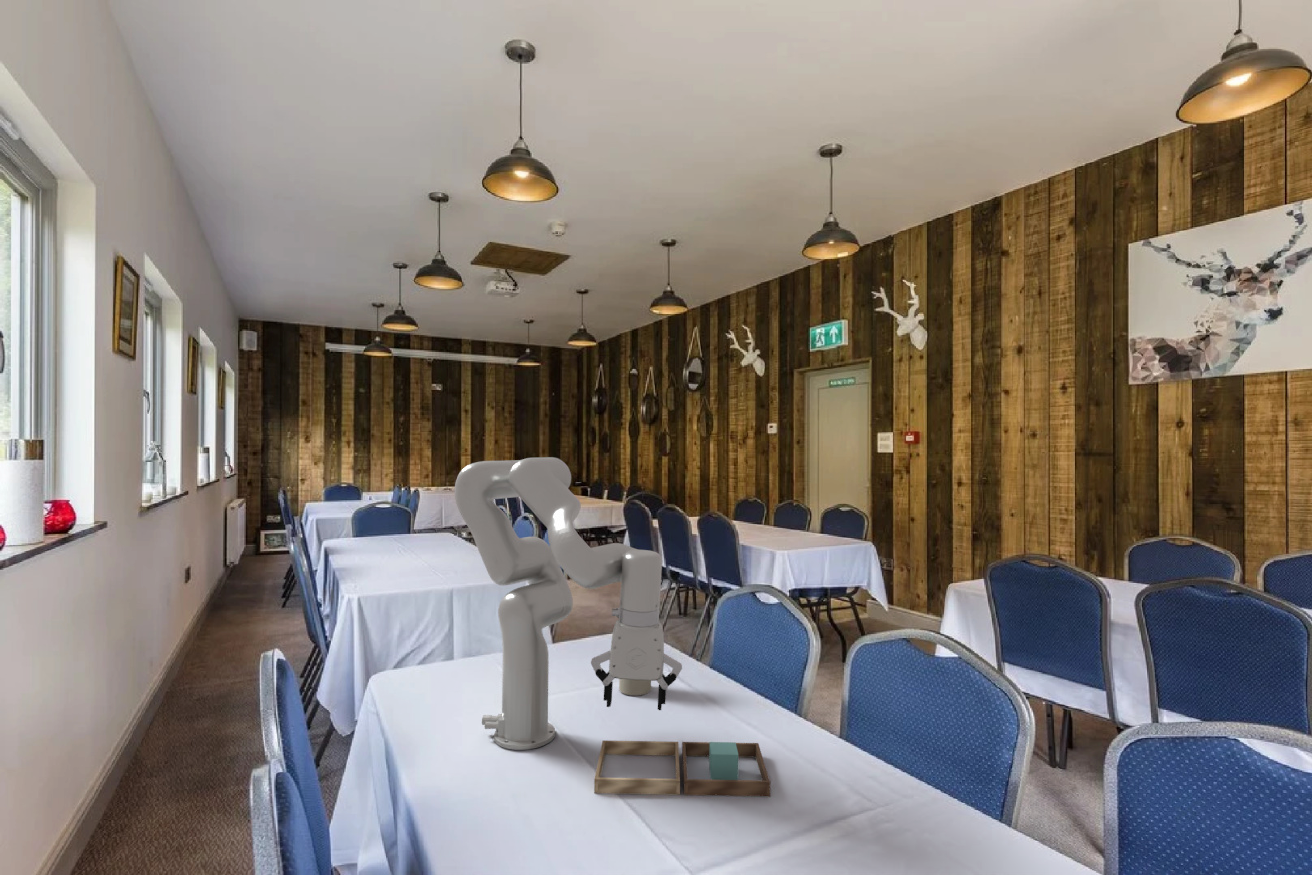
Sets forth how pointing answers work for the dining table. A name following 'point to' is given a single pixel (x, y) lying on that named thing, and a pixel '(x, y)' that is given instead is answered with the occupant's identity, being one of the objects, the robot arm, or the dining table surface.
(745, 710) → the dining table surface
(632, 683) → the travel mug
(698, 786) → the walnut tray
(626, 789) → the oak tray
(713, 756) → the teal cube
